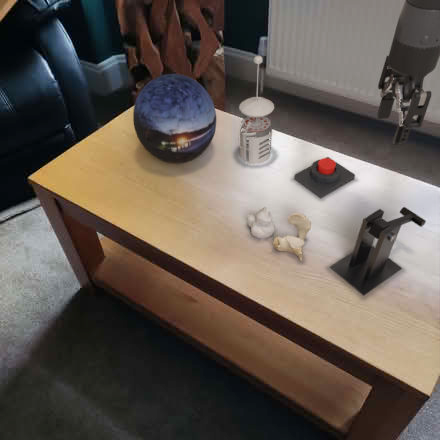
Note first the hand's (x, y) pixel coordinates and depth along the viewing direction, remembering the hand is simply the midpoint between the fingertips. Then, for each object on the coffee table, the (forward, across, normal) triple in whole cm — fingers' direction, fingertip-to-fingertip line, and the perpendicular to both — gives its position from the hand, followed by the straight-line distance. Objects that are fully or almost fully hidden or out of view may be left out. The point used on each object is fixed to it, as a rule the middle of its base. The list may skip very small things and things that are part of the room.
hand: (390, 130), depth 79 cm
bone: (+22, -8, +18) cm, 29 cm away
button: (+18, +13, +6) cm, 23 cm away
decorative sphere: (+22, +29, +40) cm, 54 cm away
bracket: (+22, -15, +4) cm, 27 cm away
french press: (+22, +25, +21) cm, 39 cm away
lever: (+12, -13, +1) cm, 18 cm away
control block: (+22, +13, +6) cm, 26 cm away
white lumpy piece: (+22, -2, +24) cm, 32 cm away
